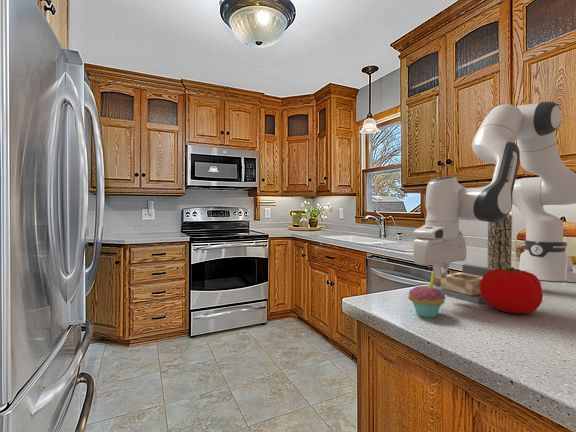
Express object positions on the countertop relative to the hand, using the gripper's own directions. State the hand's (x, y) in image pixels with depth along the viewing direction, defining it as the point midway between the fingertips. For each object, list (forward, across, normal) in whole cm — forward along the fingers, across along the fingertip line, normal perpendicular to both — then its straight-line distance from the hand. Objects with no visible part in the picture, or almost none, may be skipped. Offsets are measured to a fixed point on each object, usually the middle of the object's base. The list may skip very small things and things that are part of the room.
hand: (440, 277), depth 91 cm
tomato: (+7, -6, +15) cm, 18 cm away
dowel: (+6, -16, -11) cm, 20 cm away
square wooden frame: (+5, -11, +1) cm, 12 cm away
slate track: (+6, -14, +1) cm, 16 cm away
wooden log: (+6, -32, 0) cm, 33 cm away
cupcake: (+7, +15, +6) cm, 17 cm away
